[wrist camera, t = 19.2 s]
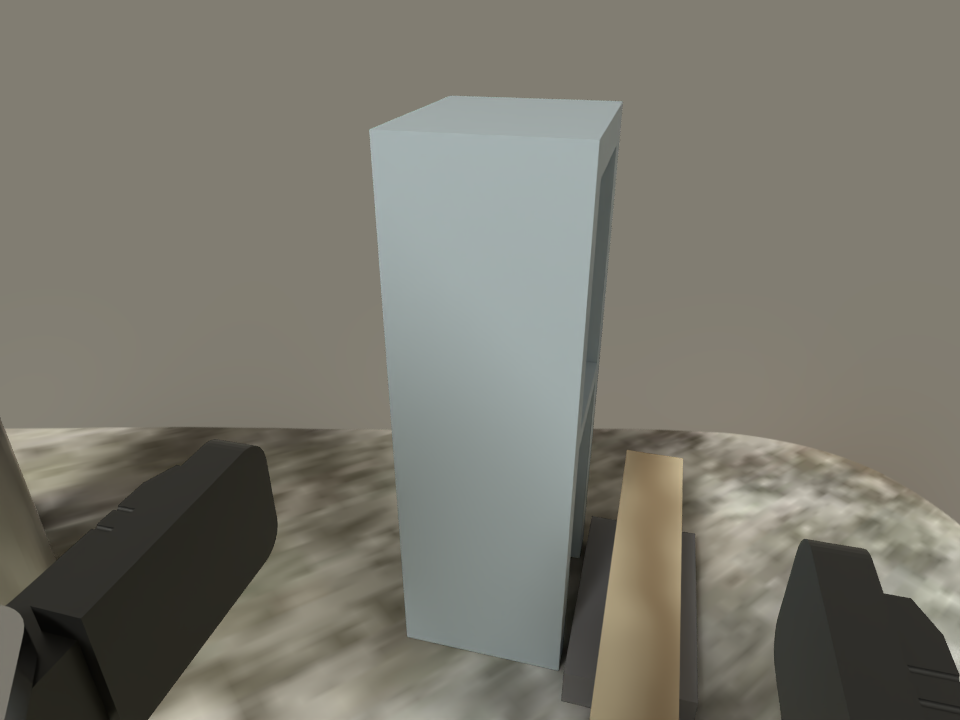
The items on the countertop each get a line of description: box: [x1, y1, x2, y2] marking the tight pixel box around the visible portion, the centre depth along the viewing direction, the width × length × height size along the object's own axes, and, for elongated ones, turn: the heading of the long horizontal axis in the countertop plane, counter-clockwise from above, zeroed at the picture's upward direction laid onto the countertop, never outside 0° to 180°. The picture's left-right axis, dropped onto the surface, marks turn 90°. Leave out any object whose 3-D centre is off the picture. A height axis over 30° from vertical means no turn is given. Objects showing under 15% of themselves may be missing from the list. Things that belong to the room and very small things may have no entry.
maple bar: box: [590, 450, 683, 720], centre depth 41 cm, size 4×24×5 cm, turn 165°
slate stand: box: [369, 96, 623, 671], centre depth 41 cm, size 10×12×32 cm
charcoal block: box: [561, 516, 698, 720], centre depth 45 cm, size 8×14×2 cm, turn 165°
